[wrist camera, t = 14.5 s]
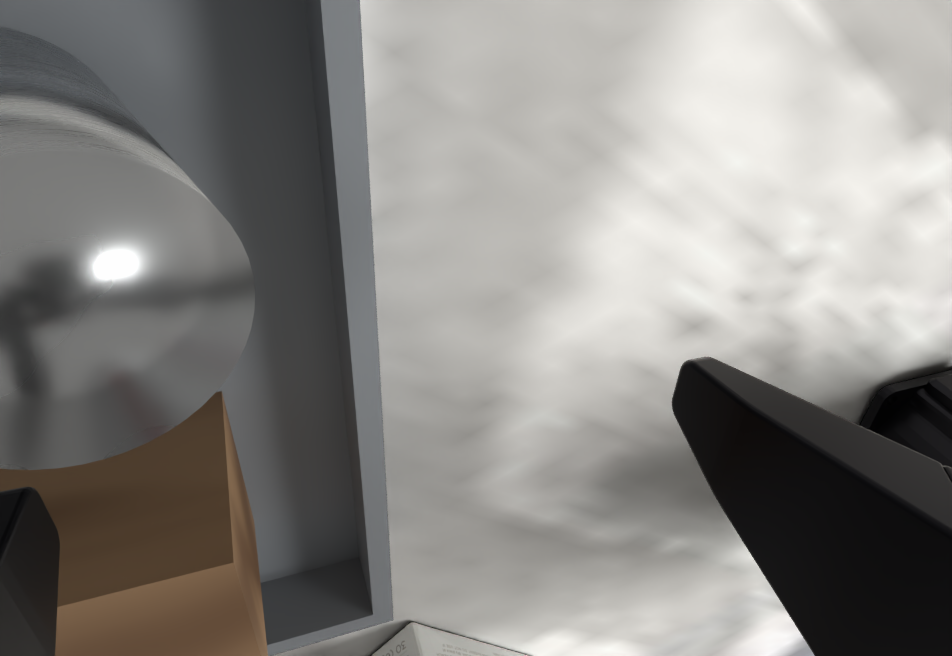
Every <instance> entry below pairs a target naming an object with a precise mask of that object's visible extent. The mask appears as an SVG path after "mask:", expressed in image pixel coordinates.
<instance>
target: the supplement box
mask: <svg viewBox="0 0 952 656" xmlns="http://www.w3.org/2000/svg"><path fill="white" fill-rule="evenodd" d="M371 656H528V655H524V654H521V653H517V652H514V651H510V650H507V649H504V648H500V647H497V646H493V645H490V644H486V643H483V642H480V641H476V640H472V639H469V638H466V637H462V636H459V635H455V634H451V633H448V632H444V631H441V630H437V629H434V628H431V627H427V626H424V625H421V624H418V623H415V622H412V623H409V624H408V625H407V626H406V627H405V628H404V629H402V630H401V631H400V632H399V633H398V634H396V635H395V636H394V637H393V638H392V639H390V640H389V641H388V642H387V643H386V644H385V645H383V646H382V647H381V648H380V649H379V650H378V651H376V652H375V653H374V654H373V655H371Z"/></svg>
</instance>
